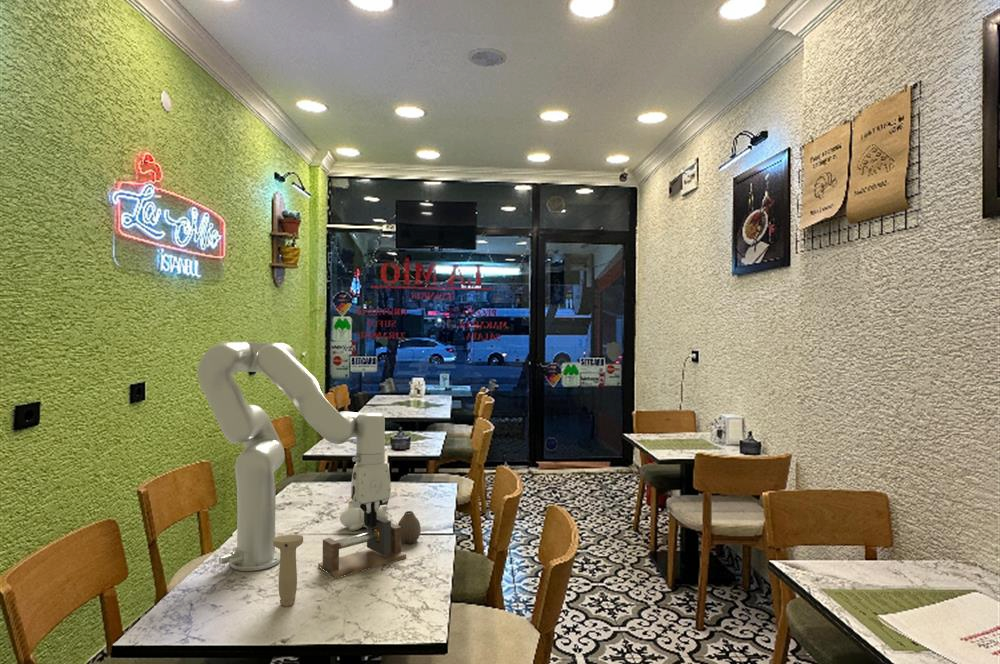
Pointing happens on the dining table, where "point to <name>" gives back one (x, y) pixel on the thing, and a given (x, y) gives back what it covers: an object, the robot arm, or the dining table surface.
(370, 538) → the pipe
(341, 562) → the stand
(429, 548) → the dining table surface
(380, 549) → the collar
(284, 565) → the handle
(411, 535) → the vase
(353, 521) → the cat figurine
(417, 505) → the dining table surface
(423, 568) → the dining table surface
